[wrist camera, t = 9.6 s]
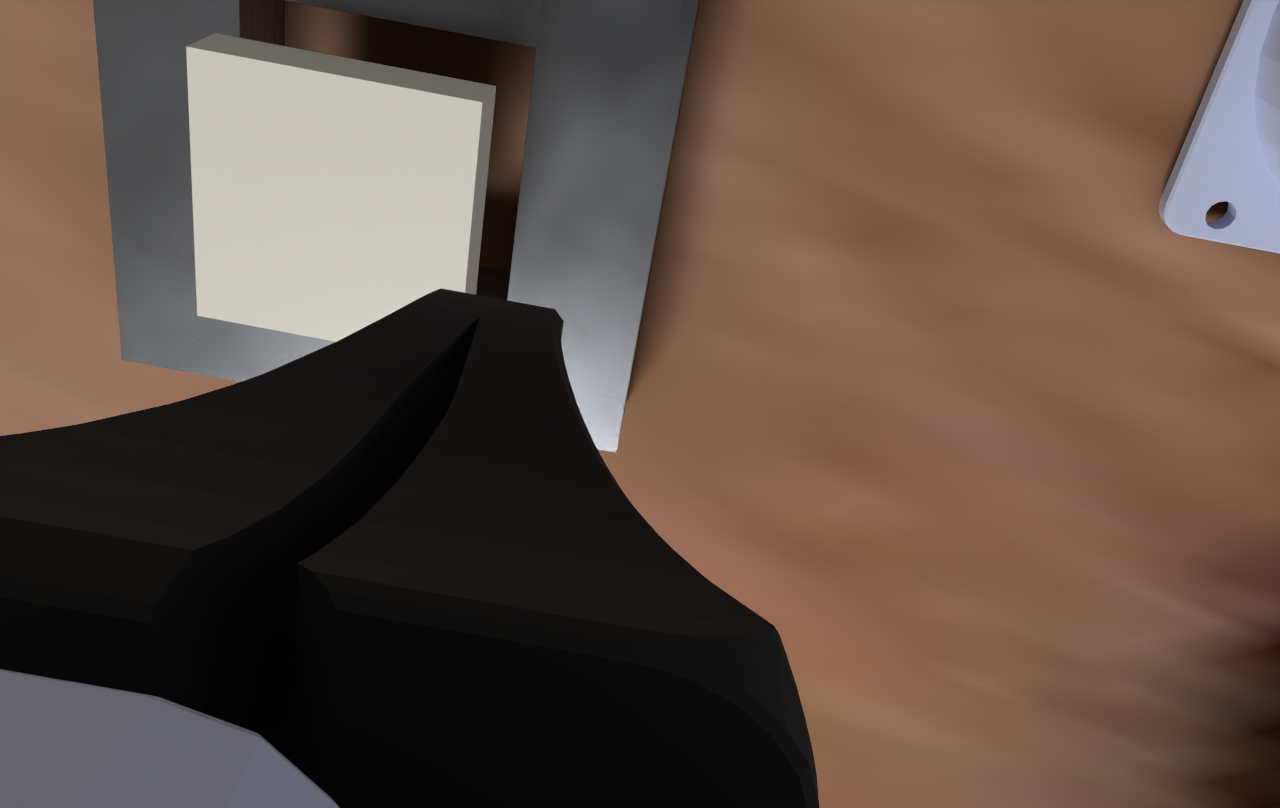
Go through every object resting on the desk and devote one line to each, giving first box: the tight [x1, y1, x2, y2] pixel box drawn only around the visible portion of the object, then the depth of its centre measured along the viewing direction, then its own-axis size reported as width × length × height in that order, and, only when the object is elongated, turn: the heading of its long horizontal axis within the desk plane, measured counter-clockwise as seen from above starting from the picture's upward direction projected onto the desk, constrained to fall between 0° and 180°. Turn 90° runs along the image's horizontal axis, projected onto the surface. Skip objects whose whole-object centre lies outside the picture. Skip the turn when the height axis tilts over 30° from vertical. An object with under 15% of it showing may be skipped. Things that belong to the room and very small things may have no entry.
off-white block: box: [186, 33, 496, 342], centre depth 19 cm, size 4×4×3 cm
